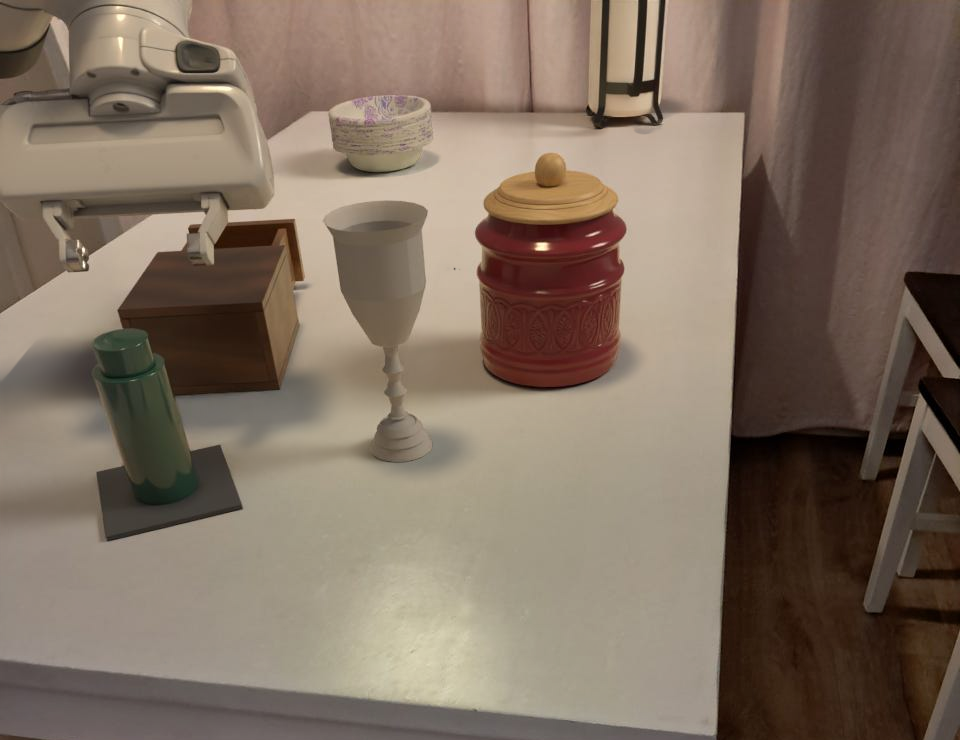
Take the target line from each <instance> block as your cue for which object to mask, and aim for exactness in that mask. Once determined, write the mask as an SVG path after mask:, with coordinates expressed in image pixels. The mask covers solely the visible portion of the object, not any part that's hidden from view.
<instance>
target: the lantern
mask: <svg viewBox="0 0 960 740" xmlns="http://www.w3.org/2000/svg"><path fill="white" fill-rule="evenodd" d="M669 2H670V1H669V0H590V18H589V19H590V22H589V53H588V88H587V89H588V91H587V93H588V94H587V97H588V98H587V102H588V103H587V105H586V108H585V113H586V114H587V115H588V116H592V115H595V116H594V118H593V123H592V124H593V127H594V128H595V129H604V128H605V127H606V124H607V122H608V120H609V119H611V118H628V117H629V118H631V117H639V116H642V117H645V118H647V119H648V120H649V122H650V123H651V125H653V126H657V125H661V124H662V123H663V121H664V116H663V114H662V113H663V112H662V111H661V108H660V104H661V101H662V91H663V79H664V67H665V66H664V65H665V53H666V40H667V29H668V13H669ZM653 112H654V113H655V115H656V118H657V119H656V118H655V117H654V115H653V114H651V113H653Z"/></svg>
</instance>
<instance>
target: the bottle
mask: <svg viewBox="0 0 960 740" xmlns="http://www.w3.org/2000/svg"><path fill="white" fill-rule="evenodd" d="M91 348H92V350H93V353H94V357H95V359H96V363H97V365H95V366H94V368H93V369H92V372H91V375H92V378H93V381H94V384H95V388H96V390H97V392H98V395H99V399H100V402H101V404H102V407H103V410H104V413H105V416H106V418H107V419H106V420H107V421H108V425H109V427H110V430H111V433H112V436H113V439H114V441H115V445H116V448H117V451H118V454H119V457H120V459H121V462H122V466H124V468H125V471H126V474H127V477H128V480H129V483H130V486H131V488H132V491H133V494H134V497H135V498H136V499H137V500H138V501H140V502H142V503H145V504H150V505H162V504H169V503H173V502H176V501H179V500H182V499H184V498H186V497H187V496H189V495H190V494H192V493H193V492H194V491H195V490H196V489H197V487H198V484H199V479H198V476H197V472H196V469H195V465H194V462H193V458H192V455H191V451H192V450H191V448H190V445H189V441H188V438H187V434H186V431H185V427H184V423H183V420H182V416H181V414H180V409H179V407H178V406H179V405H178V403H177V400H176V395H174V392H173V388H172V385H171V381H170V378H169V375H168V371H167V368H166V364H165V361H164V359H163V357H161V356H160V355H158V354H156V353H153V350H152V347H151V344H150V340H149V337H148V334H147V333H146V332H145V331H143V330H140V329H133V328H128V329H123V328H119V329H115V330H110V331H107V332H104V333H102V334H100V335H97V337H95V338H94V339H93V340H92V342H91Z"/></svg>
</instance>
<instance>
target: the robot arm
mask: <svg viewBox="0 0 960 740" xmlns="http://www.w3.org/2000/svg"><path fill="white" fill-rule="evenodd" d="M192 10H193V0H0V80H5V79H6V80H7V79H12V78H16V77H19V76H22V75H24V74H26V73H28V72H29V71H31V70H32V69H33V68H34V67H35V66H36V64H37V63H38V61H39V59H40V58H41V56H42V55H41V54H42V51H43V48H44V45H45V42H46V39H47V36H48V34H49V31H50V26H51V22H52V20H53V18H54V17H55V18H58V19H59V20H61V21H62V22H63V23H64V25H65V27H66V28H67V31H68V65H69V66H68V67H69V69H68V70H69V73H68V74H69V88H52V89H46V90H41V91H33V90H21V91H16V92H14V93H13V97H12V98H8V99H6V100H5V101H4V102H3V103H2V104H1V105H0V202H1V203H2V204H3V205H4V206H5V208H6V209H8V211H10V212H11V213H12V214H13V215H14V216H16V217H17V218H18V219H19V220H20V221H24V222H37V221H39V222H40V221H44V222H45V223H46V225H47V227H48V228H49V230H50V231H51V233H52V235H53V236H54V238H55V239H56V241H57V242H58V260H59V264H60V266H61V267H62V268H63V269H64V270H65V271H66V272H67V273H83V272H84V273H85V272H89V271H90V264H89V263H88V261H89V260H90V251H89V249H88V248H87V247H86V246H84V245H83V243H82V241H81V240H79V238H77V239H76V238H75V239H72V238H71V236H70V235H69V233H68V232H67V231H69V232H71V231H74V230H75V219H94V218H95V219H96V218H114V217H129V216H130V217H131V216H148V215H149V216H150V215H169V214H171V215H172V214H185V213H186V214H188V213H189V214H190V213H204V215H205V216H204V218H203V221H202V222H201V223H200V224H201V226H200V228H199V230H198V233H189V232H188V233H186V243H188V245H189V246H188V248H187V254H188V258H189V260H190V261H191V262H192V264H193V266H202V265H213V264H214V244H215V243H216V242H217V240H218V238H219V237H220V235H221V233H222V232H223V230H224V228H225V227H226V225H227V223H228V222H229V215H228V214H229V211H244V210H245V211H247V210H262V209H266V208H267V206H268V205H269V204H270V203H271V201H272V200H273V199H274V197H275V193H276V192H275V191H276V189H275V187H276V186H275V176H274V168H273V162H272V157H271V151H270V146H269V142H268V140H267V137H266V133H265V132H264V129H263V127H262V124H261V121H260V119H259V117H258V107H257V102H256V98H255V94H254V91H253V87H252V85H251V82H250V80H249V77H248V75H247V73H246V71H245V69H244V67H243V65H242V64H241V62H240V60H239V58H238V57H237V55H236V53H235V52H234V51H233V50H232V49H230V48H228V47H225V46H223V45H218V44H214V43H210V42H205V41H202V40H198V39H195V38H191V37H190V34H189V33H190V32H189V22H190V20H191V15H192V12H193V11H192Z"/></svg>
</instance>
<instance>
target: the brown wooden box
mask: <svg viewBox="0 0 960 740" xmlns="http://www.w3.org/2000/svg"><path fill="white" fill-rule="evenodd" d="M116 312H117V314H118V318H119V319H120V320H119V321H120V324H121V327H122V329H128V328H133V329H140V330H143V331H145V332H146V333H147V334H148V337H149V340H150V344H151V347H152V350H153V353H156V354H158V355H160V356H161V357H163V359H164V361H165V364H166V368H167V371H168V375H169V378H170V381H171V385H172V388H173V392H174V395H175V396H179V395H198V394H199V395H200V394H217V393H219V394H220V393H235V392H237V393H238V392H255V391H256V392H257V391H271V390H272V391H274V390H281V387H282V383H283V380H284V377H285V374H286V371H287V367H288V363H289V360H290V357H291V354H292V350H293V348H294V344H295V341H296V337H297V334H298V331H299V328H300V321H299V316H298V315H299V314H298V310H297V304H296V299H295V294H294V289H293V287H292V281H291V276H290V270H289V265H288V259H287V254H286V248H285V245H276V246H258V247H240V248H222V249H214V264H213V265H202V266H193V264H192V262H191V261H190V260H189V258H188V254H187V250H186V251H181V250H172V251H171V250H169V251H157V252H156V254H155V255H154V256H153V258H152V260H151V261H150V262H149V264H148V265H147V267H146V268H145V270H144V271H143V272H142V274H141V276H140V277H139V278H138V280H137V281H136V282H135V284H134V285H133V287H132V288H131V290H130V291H129V293H128V294H127V295H126V297H125V298H124V299H123V301H122V302H121V304H120V305H119V307H118V308H117V310H116Z"/></svg>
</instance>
